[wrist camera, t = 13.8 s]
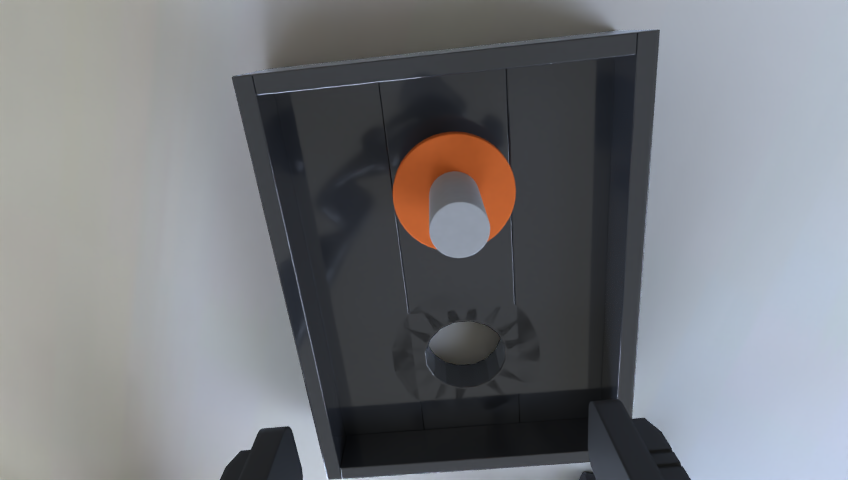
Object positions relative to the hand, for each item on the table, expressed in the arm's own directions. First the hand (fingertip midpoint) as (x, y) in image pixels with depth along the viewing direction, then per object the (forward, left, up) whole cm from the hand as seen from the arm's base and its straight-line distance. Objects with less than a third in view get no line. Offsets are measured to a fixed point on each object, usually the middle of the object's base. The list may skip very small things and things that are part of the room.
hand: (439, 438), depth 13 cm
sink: (+1, -4, -20) cm, 20 cm away
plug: (+1, +2, -17) cm, 18 cm away
